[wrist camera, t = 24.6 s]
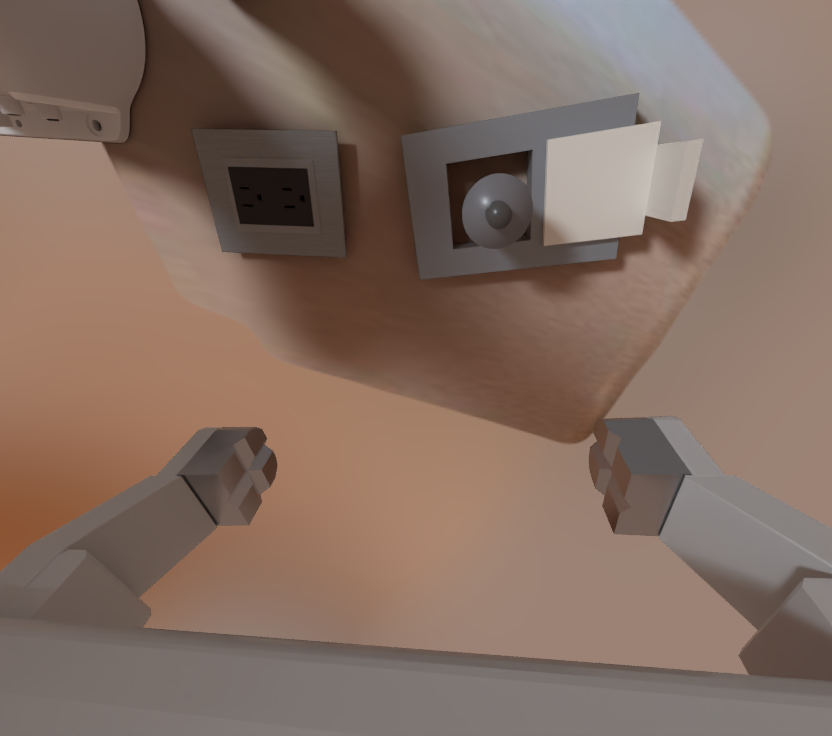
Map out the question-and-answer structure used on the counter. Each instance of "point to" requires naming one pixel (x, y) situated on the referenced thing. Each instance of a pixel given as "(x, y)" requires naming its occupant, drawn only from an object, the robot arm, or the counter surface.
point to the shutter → (615, 183)
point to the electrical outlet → (274, 190)
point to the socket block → (530, 134)
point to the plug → (497, 210)
